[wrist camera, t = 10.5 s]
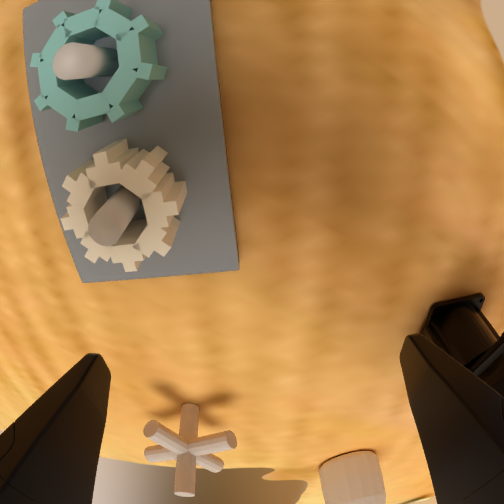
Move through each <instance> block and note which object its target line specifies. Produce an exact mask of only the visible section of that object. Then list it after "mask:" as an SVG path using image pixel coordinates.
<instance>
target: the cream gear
mask: <svg viewBox="0 0 504 504" xmlns="http://www.w3.org/2000/svg"><path fill="white" fill-rule="evenodd" d="M167 154H168V152H166V151H165V150H164V149H162V148H161V147H159V146H156V147H155V148H154V149H153V150H152V151H151V152H150V153H149V152H148V151H146V150H145V149H142V150H141V151H140V152H139V151H138V147H137V148H131V149H128V144H127V139H122V140H117V141H114V142H112V143H111V144H109V145H107V146H106V147H104V148H102V149H101V150H99V151H97V152H96V153H94V154H93V158H94V160H93V159H90V160H89V161H87V162H85V163H84V164H82V165H81V166H80V167H78V168H77V169H75V170H74V171H72V172H71V173H69V174H68V175H67V176H66V178H65V180H64V183H63V185H62V187H63V188H65V189H66V190H67V191H69V192H70V195H69V197H68V199H67V202H68V203H70V204H69V205H68V206H67V207H66V208H67V211H68V212H67V213H66V214H65V215H64V216H63V217H62V218H61V222H62V225H63V228H64V231H65V230H72V229H73V230H74V233H75V236H76V239H77V238H83V239H82V241H81V243H80V244H82V245H83V246H85V247H86V248H87V249H88V251H87V252H86V254H85V256H84V257H85V258H87V259H88V260H90V261H91V262H93V263H94V264H95V262H96V261H97V259H98V258H99V257H101V258H102V259H104V260H105V261H107V262H108V260H109V258H110V257H111V259H112V262H113V263H122V264H123V267H124V270H125V272H132V271H137V270H138V268H139V266H140V263H141V261H143V260H144V259H145V257H146V256H147V257H148V258H149V257H150V255H151V254H152V253H153V251H156V252H157V253H159V254H160V255H162V256H163V257H164V256H165V255H166V254H167V252H168V251H169V250H170V249H171V247H172V244H173V241H174V238H175V235H176V233H177V230H178V227H179V224H180V220H178V219H177V218H175V217H174V215H179V212H180V210H181V207H182V205H183V202H184V200H185V197H186V195H187V187H186V181H177V182H175V181H174V175H173V172H172V173H166V172H167V171H168V169H169V168H170V167H169V166H167V165H166V164H165V163H163V162H162V161H163V159H164V158H165V156H166V155H167ZM117 183H120V184H121V185H122V186H124V187H125V188H127V189H128V190H129V191H131V192H132V193H134V194H135V195H137V196H138V197H140V198H141V199H142V203H143V207H144V211H145V215H146V219H140V220H132V221H130V223H129V224H128V226H127V227H126V229H125V230H124V232H123V234H122V235H121V237H120V238H119V240H118V241H117V242H116V243H115V244H114V245H112V246H102V245H99V244H98V243H96V242H95V241H94V240H93V239H92V238H91V236H90V234H89V231H88V224H89V221H90V219H91V218H92V217H93V216H94V215H95V214H96V213H97V211H98V210H99V209H100V208H101V207H102V206H103V205H104V204H105V203H106V201H107V200H108V199H107V195H106V191H105V186H106V185H112V184H117Z"/></svg>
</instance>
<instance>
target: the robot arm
mask: <svg viewBox="0 0 504 504" xmlns="http://www.w3.org/2000/svg"><path fill="white" fill-rule="evenodd" d="M484 300H485V297H484V295H483V294H477V295H473V296H469V297H464V298H460V299H455V300H451V301H446V302H441V303H436V304H434V305H433V306H432V307H431V310H430V313H429V316H428V319H427V322H426V324H425V327H424V330H423V333H422V334H420V333H416V334H410V335H407V336H406V338H405V341H404V344H403V347H402V350H401V352H400V363H401V367H402V372H403V376H404V380H405V385H406V390H407V395H408V399H409V403H410V407H411V410H412V413H413V416H414V420H415V423H416V426H417V429H418V432H419V436H420V439H421V443H422V446H423V450H424V453H425V457H426V460H427V464H428V468H429V471H430V475H431V479H432V483H433V487H434V491H435V496H436V500H437V504H504V332H503V333H502V334H501V335H502V336H501V337H500V336H499V335H498V334H497V332H496V331H495V329H494V328H493V327H492V325H491V324H490V323H489V321H488V320H487V319H486V317H485V316H484V315H483V313H482V312H481V311H480V310H481V307H482V305H483V302H484ZM110 382H111V373H110V370H109V368H108V367H107V365H106V363H105V361H104V359H103V357H102V356H101V355H100V354H95V353H88V354H87V355H85V356H84V357H83V358H82V359H81V360H80V361H79V362H78V363H76V364H75V365H74V366H73V367H72V368H71V369H70V370H69V371H68V372H67V373H65V374H64V375H63V376H62V377H61V378H60V379H59V380H58V381H57V382H56V383H55V384H54V385H52V386H51V387H50V388H49V389H48V390H47V391H46V392H45V393H44V394H43V395H42V396H41V397H40V398H39V399H38V400H36V401H35V402H34V403H33V404H32V405H31V406H30V407H29V408H28V409H27V410H26V411H25V412H24V413H23V414H22V415H21V416H20V417H19V418H17V419H16V420H15V422H13V423H12V424H11V425H10V426H9V427H8V428H7V429H6V430H5V431H4V432H3V433H2V434H1V435H0V504H92V498H93V491H94V484H95V477H96V471H97V465H98V459H99V454H100V448H101V443H102V438H103V433H104V428H105V423H106V416H107V407H108V398H109V390H110Z"/></svg>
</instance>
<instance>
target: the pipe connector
mask: <svg viewBox="0 0 504 504" xmlns="http://www.w3.org/2000/svg"><path fill="white" fill-rule="evenodd" d="M198 419H199V407H198V406H197V405H195V404H192V403H186V404H183V405H182V410H181V420H180V430H179V435H178V434H176V433H175V432H173V431H171V430H170V429H168V428H167V427H165V426H164V425H162V424H160V423H159V422H157V421H156V420H151V421H149V422H148V423H147V424H146V425H145V427H144V435H145V436H146V437H147V438H149V439H150V440H152V441H154V442H156V443H157V444H159V445H156V446H149V447H147V448H145V451H144V455H145V457H146V459H147V460H148V461H149V462H160V461H168V460H175V459H177V463H176V476H175V489H174V494H176V495H179V496H184V497H193V496H195V474H196V464H197V465H199V466H201V467H203V468H205V469H207V470H209V471H212V472H216V473H217V472H219V471H221V470H222V468H223V465H224V463H223V460H222V459H220V458H218V457H217V456H215V455H213V454H211V453H216V452H221V451H226V450H230V449H235V448H236V446H237V440H236V437H235V435H234V433H233V432H232V431H230V430H228V431H224V432H220V433H216V434H211V435H207V436H203V437H198V438H197V436H198Z"/></svg>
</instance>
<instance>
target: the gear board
mask: <svg viewBox="0 0 504 504" xmlns="http://www.w3.org/2000/svg"><path fill="white" fill-rule="evenodd" d="M117 1H119V2H121V3H122V4H124V5H126V6H127V7H129V8H131V9H132V13H131V15H130V19H131V20H133V19H135V18H137V17H138V16H140V15H141V14H142V15H144V16H145V17H147V18H148V19H150V20H152V21H153V22H155V23H156V24H158V25H159V27H160V29H161V30H162V32H163V33H164V35H163V36H162V37H160V38H158V39H157V40H155V42H156V52H157V61H158V65H161V66H166V67H168V68H167V71H166V74H165V78H164V80H152V81H151V83H150V84H149V85H148V87H147V88H146V90H145V91H144V92H143V94H142V95H141V96H140V98H139V101H140V103H141V104H142V106H143V108H142V109H140V110H139V111H137V112H136V113H134V114H133V115H131V116H128V117H125V118H123V119H120V120H118V121H115V122H113V123H112V122H111V120H110V119H109V117H108V115H107V114H104V116H103V121H102V122H100V123H98V124H95V125H93V126H90V127H88V128H86V129H83V130H81V131H78V132H76V131H71V130H66V123H67V118H65V117H64V116H63V115H61V114H60V113H58V112H57V111H56V110H54V109H53V108H51V109H48V110H44V111H40V110H39V109H38V107H37V105H36V103H35V102H34V100H35V99H36V98H37V97H38V96H39V95H40V94H41V90H40V82H39V74H38V67H30V63H31V59H32V54H33V53H41V52H42V50H43V49H44V47H45V45H46V43H47V42H48V40H49V38H50V37H51V35H52V34H53V32H54V30H55V29H56V26H55V24H54V23H53V21H52V20H53V19H54V18H55V17H57V16H58V15H59V14H60V13H61V12H62V11H67V12H70V13H74V14H78V13H81V12H84V11H86V10H89V9H92V8H95V5H96V2H97V0H40V1H38V2H36V3H34V4H32V5H30V6H28V7H26V8H24V9H23V35H24V51H25V63H26V73H27V81H28V89H29V96H30V103H31V109H32V115H33V120H34V126H35V131H36V136H37V140H38V145H39V150H40V154H41V158H42V162H43V166H44V170H45V174H46V178H47V182H48V185H49V189H50V192H51V196H52V199H53V202H54V206H55V209H56V212H57V215H58V218H59V221H60V224H61V227H62V230H63V233H64V236H65V239H66V242H67V244H68V247H69V250H70V253H71V255H72V258H73V260H74V263H75V266H76V268H77V271H78V273H79V276H80V278H81V280H82V283H90V282H104V281H117V280H130V279H142V278H155V277H167V276H178V275H190V274H202V273H213V272H224V271H235V270H239V255H238V247H237V239H236V231H235V222H234V214H233V205H232V197H231V188H230V180H229V171H228V162H227V153H226V144H225V135H224V126H223V117H222V108H221V98H220V89H219V79H218V69H217V60H216V50H215V40H214V29H213V19H212V8H211V0H117ZM118 68H119V62H118V53H117V43H116V39H115V38H113V37H111V36H109V37H106V38H103V39H100V40H96V41H95V42H94V44H93V45H88V44H81V43H74V42H71V43H67V44H65V45H63V46H62V47H61V48H60V49H59V50H58V51H57V52H56V54H55V56H54V59H53V71H54V73H55V75H56V76H57V77H58V78H60V79H62V80H71V79H83V78H84V81H85V84H87V85H88V86H90V87H91V88H93V89H94V90H96V91H97V92H99V93H102V92H103V90H104V89H105V87H106V86H107V84H108V83H109V81H110V80H111V78H112V77H113V75H114V74H115V72H116V71H117V69H118ZM122 139H127V144H128V149H131V148H137V147H138V151H139V152H140V151H141V150H142V149H145V150H146V151H148V152H149V153H150V152H151V151H152V150H153V149H154V148H155V147H156V146H159V147H161V148H162V149H164V150H165V151H166V152H168V154H167V155H166V156H165V158H164V159H163V161H162V162H163V163H165V164H166V165H167V166H169V167H170V168H169V169H168V171H167V172H166V173H172V172H173V175H174V181H175V182H177V181H186V187H187V195H186V197H185V200H184V202H183V205H182V207H181V210H180V212H179V215H174V217H175V218H177V219H178V220H180V224H179V227H178V230H177V233H176V235H175V238H174V241H173V244H172V247H171V249H170V250H169V251H168V252H167V254H166V255H165V256H164V257H163V256H162V255H160V254H159V253H157V252H156V251H153V253H152V254H151V255H150V257H149V258H148V257H147V256H146V257H145V259H144V260H143V261H141V263H140V266H139V268H138V270H137V271H132V272H125V270H124V267H123V264H122V263H113V262H112V259H111V257H110V258H109V260H108V262H107V261H105V260H104V259H102V258H101V257H99V258H98V259H97V261H96V262H95V264H94V263H93V262H91V261H90V260H88V259H87V258H85V257H84V256H85V254H86V252H87V251H88V249H87V248H86V247H85V246H83V245H82V244H80V243H81V241H82V239H83V238H77V239H76V236H75V233H74V230H73V229H72V230H65V231H64V228H63V225H62V222H61V218H62V217H63V216H64V215H65V214H66V213H67V212H68V211H67V208H66V207H67V206H68V205H69V204H70V203H68V202H67V199H68V197H69V195H70V192H69V191H67V190H66V189H65V188H63V187H62V185H63V183H64V180H65V178H66V176H67V175H68V174H69V173H71V172H72V171H74V170H75V169H77V168H78V167H80V166H81V165H82V164H84V163H85V162H87V161H89V160H90V159H93V160H94V158H93V154H94V153H96V152H97V151H99V150H101V149H102V148H104V147H106V146H107V145H109V144H111V143H112V142H114V141H117V140H122ZM105 191H106V195H107V199H108V200H107V201H106V203H105V204H104V205H103V206H102V207H101V208H100V209H99V210H98V211H97V213H96V214H95V215H94V216H93V217H92V218H91V219H90V221H89V224H88V231H89V234H90V236H91V238H92V239H93V240H94V241H95V242H96V243H98V244H99V245H102V246H112V245H114V244H115V243H116V242H117V241H118V240H119V238H120V237H121V235H122V234H123V232H124V230H125V229H126V227H127V226H128V224H129V223H130V221H132V220H140V219H146V215H145V211H144V207H143V203H142V199H141V198H140V197H138V196H137V195H135V194H134V193H132V192H131V191H129V190H128V189H127V188H125V187H124V186H122V185H121V184H120V183H117V184H112V185H106V186H105Z"/></svg>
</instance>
